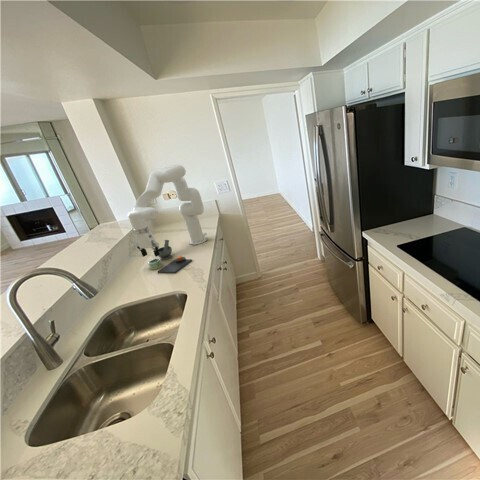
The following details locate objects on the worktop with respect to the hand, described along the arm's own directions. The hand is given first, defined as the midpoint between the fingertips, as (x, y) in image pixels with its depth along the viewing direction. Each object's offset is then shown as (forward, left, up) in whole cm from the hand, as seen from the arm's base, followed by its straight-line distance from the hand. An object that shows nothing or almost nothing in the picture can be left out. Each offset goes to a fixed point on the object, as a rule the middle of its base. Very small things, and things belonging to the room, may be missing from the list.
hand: (151, 255), depth 169 cm
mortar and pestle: (-14, -4, -9) cm, 17 cm away
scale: (-1, +14, -9) cm, 17 cm away
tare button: (-7, +14, -6) cm, 17 cm away
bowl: (0, 0, -9) cm, 9 cm away
